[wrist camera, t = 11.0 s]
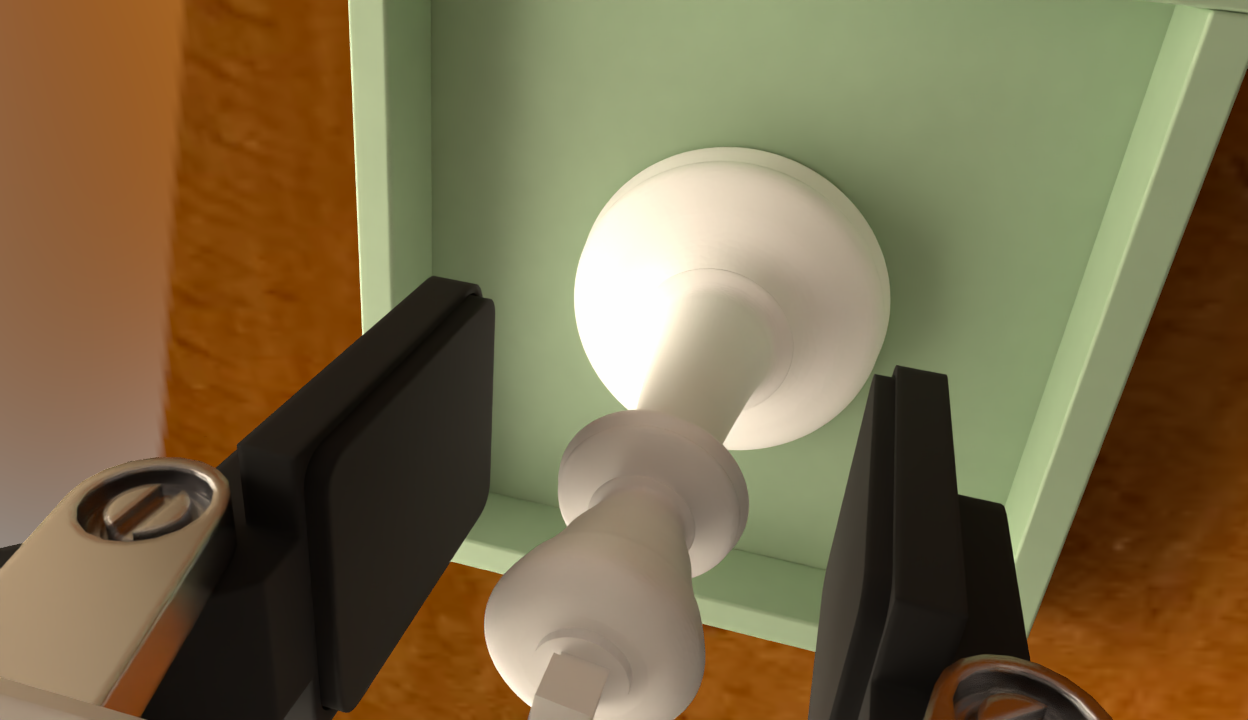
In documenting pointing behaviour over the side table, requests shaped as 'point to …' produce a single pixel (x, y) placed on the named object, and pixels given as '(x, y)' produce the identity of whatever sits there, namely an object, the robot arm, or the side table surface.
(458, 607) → the side table surface
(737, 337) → the chess piece
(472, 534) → the tray
